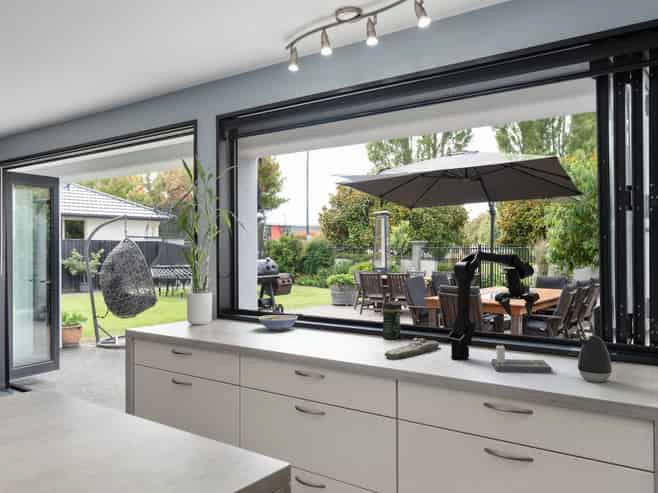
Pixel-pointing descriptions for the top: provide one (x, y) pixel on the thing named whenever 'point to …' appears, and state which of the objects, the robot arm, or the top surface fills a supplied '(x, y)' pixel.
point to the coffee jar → (391, 320)
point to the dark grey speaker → (594, 360)
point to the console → (521, 366)
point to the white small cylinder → (500, 354)
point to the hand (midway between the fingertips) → (519, 316)
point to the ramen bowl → (278, 321)
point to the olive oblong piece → (412, 349)
